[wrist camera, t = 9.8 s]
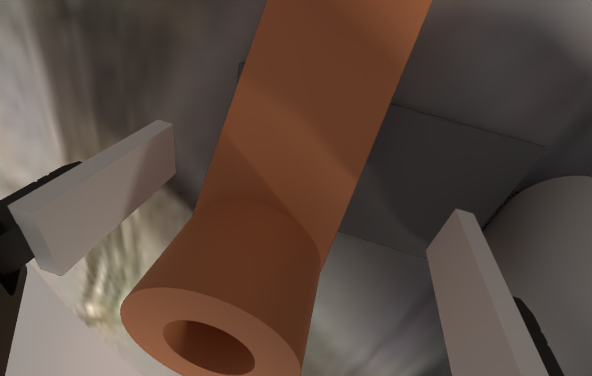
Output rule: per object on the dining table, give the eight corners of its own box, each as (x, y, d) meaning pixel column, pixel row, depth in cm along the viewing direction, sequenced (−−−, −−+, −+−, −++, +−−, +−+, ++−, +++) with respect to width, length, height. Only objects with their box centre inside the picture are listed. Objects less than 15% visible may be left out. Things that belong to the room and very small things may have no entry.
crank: (281, 412, 14) (133, 359, 14) (310, 281, 20) (206, 248, 21) (705, -381, 2) (-132, -518, 3) (460, -105, 9) (218, -160, 9)
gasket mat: (543, 146, 12) (546, 149, 12) (448, 262, 17) (449, 266, 17) (241, 61, 13) (239, 63, 13) (229, 194, 18) (228, 197, 18)
